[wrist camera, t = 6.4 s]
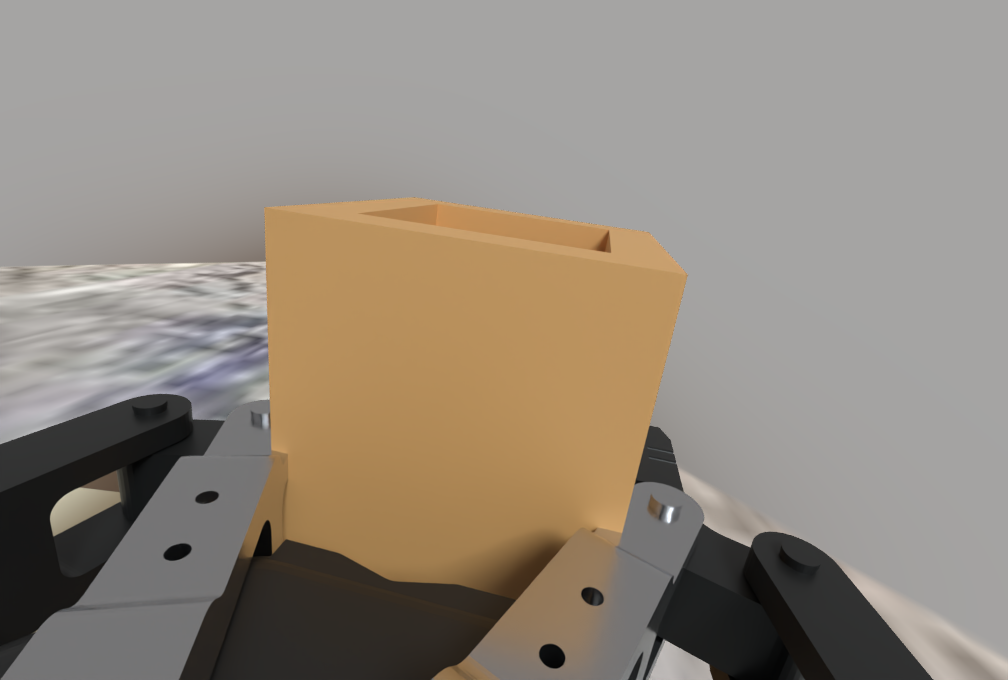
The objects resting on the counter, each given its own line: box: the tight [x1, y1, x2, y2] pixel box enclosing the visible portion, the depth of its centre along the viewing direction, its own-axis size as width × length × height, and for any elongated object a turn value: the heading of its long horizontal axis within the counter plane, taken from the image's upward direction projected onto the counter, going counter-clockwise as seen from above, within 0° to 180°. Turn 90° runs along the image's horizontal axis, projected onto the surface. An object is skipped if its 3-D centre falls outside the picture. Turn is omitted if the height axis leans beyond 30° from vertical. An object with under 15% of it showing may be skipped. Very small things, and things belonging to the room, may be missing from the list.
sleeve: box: [265, 197, 688, 600], centre depth 11 cm, size 6×6×11 cm
